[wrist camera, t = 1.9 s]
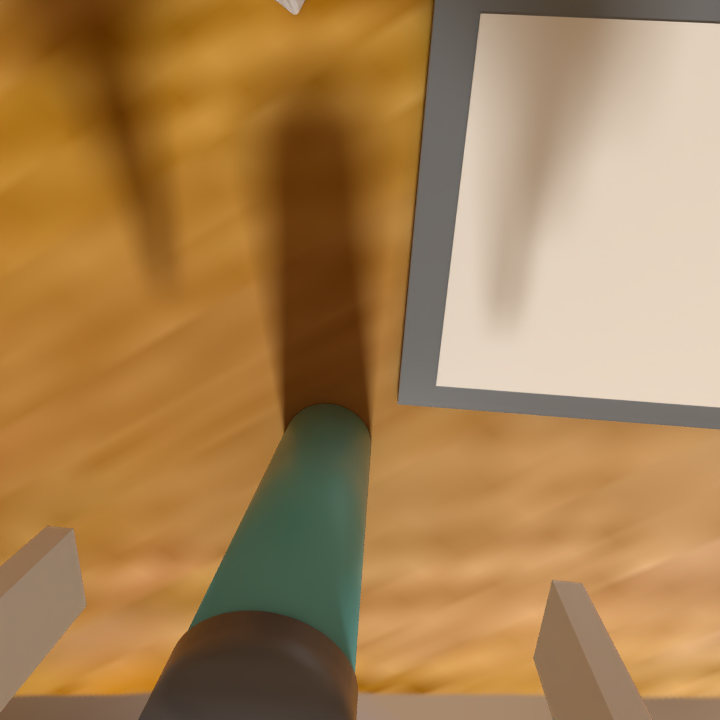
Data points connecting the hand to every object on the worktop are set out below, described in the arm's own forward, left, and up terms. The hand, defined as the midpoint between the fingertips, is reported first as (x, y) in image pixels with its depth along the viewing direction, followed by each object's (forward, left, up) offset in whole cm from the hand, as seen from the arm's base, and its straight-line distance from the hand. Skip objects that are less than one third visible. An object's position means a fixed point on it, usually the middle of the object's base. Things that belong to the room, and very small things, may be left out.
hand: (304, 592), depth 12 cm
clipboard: (+13, +10, -8) cm, 18 cm away
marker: (0, 0, -8) cm, 8 cm away
